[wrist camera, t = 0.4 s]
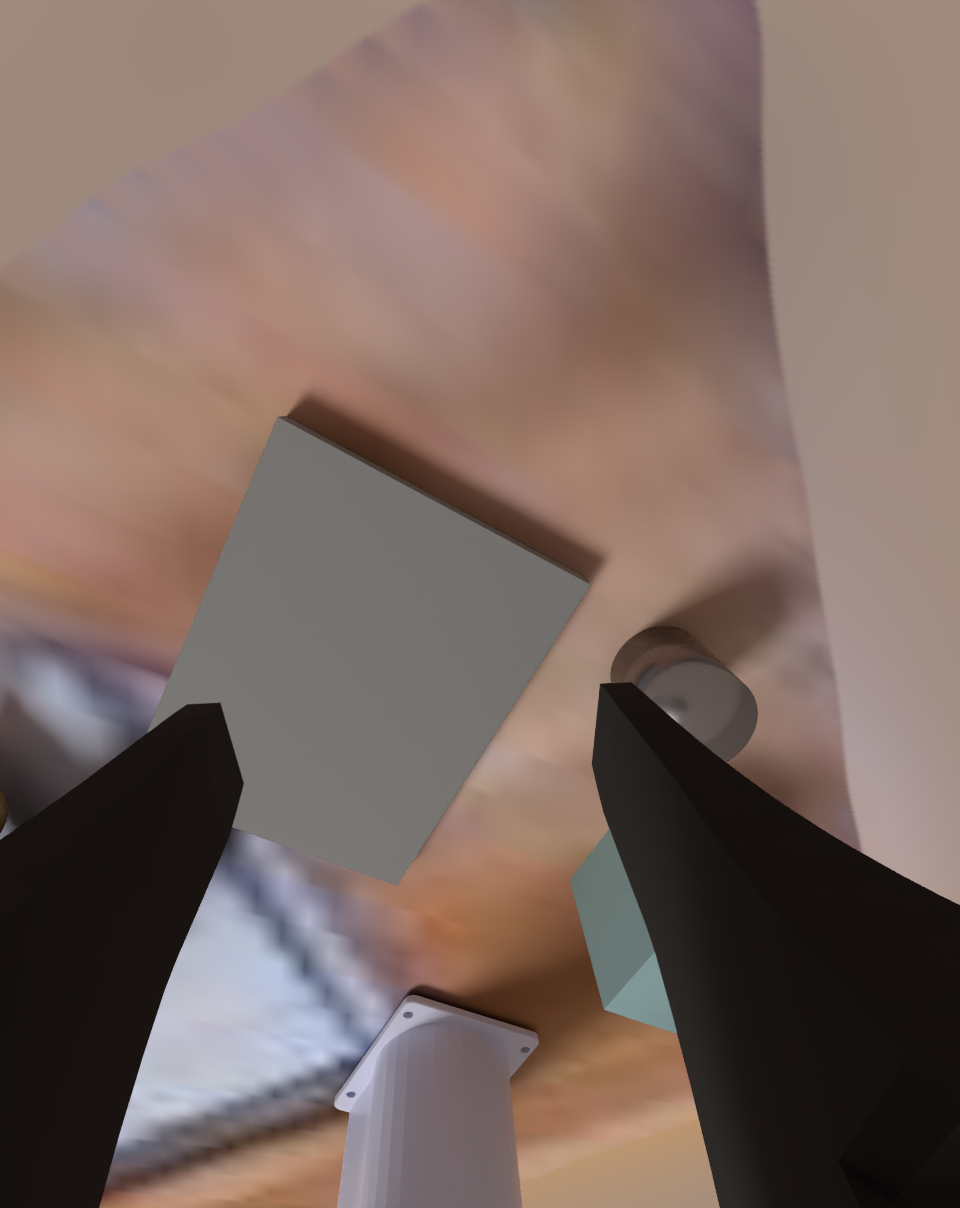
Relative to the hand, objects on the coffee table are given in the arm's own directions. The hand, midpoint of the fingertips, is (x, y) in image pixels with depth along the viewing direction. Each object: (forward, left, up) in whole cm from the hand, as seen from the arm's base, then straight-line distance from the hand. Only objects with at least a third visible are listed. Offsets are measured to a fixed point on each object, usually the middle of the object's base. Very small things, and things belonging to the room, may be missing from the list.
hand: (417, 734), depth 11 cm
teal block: (-8, -15, -11) cm, 20 cm away
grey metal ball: (+1, -10, -11) cm, 15 cm away
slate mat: (-5, +1, -11) cm, 12 cm away
